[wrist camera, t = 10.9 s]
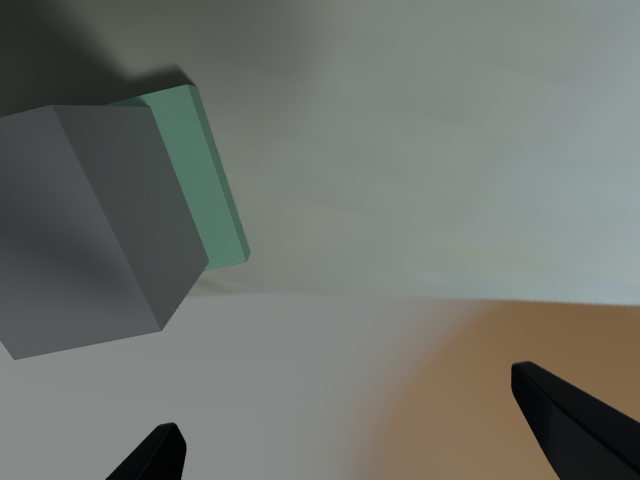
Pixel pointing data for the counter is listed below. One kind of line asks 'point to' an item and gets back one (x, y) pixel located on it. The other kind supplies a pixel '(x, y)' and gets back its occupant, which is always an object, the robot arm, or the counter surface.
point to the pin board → (197, 171)
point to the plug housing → (90, 228)
